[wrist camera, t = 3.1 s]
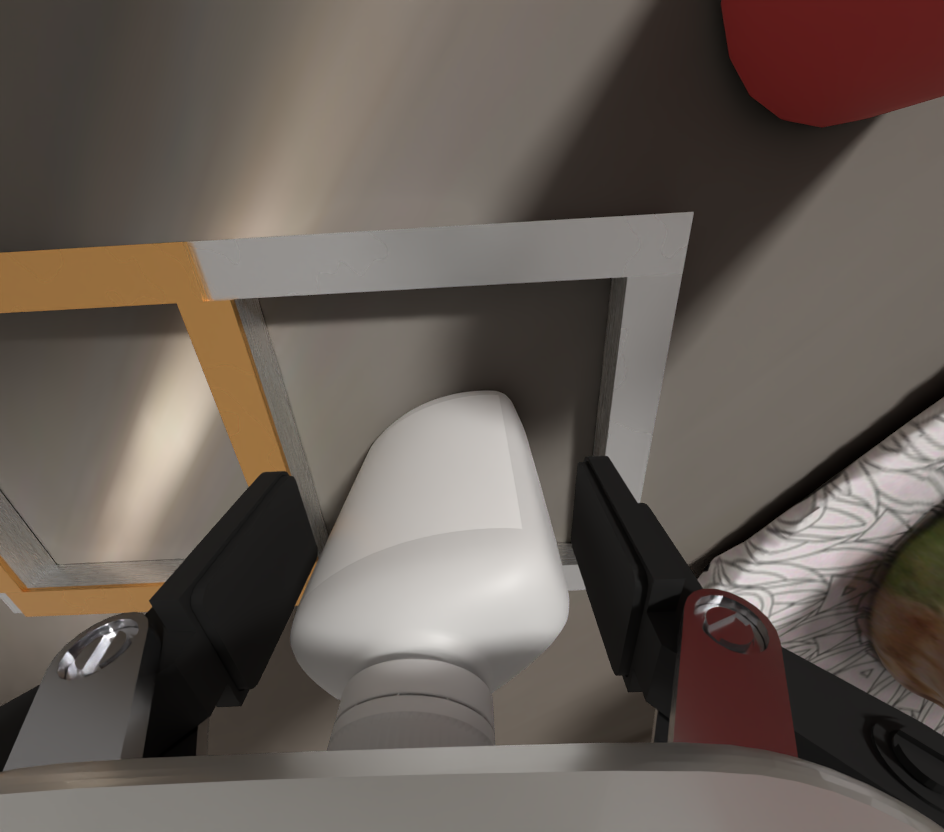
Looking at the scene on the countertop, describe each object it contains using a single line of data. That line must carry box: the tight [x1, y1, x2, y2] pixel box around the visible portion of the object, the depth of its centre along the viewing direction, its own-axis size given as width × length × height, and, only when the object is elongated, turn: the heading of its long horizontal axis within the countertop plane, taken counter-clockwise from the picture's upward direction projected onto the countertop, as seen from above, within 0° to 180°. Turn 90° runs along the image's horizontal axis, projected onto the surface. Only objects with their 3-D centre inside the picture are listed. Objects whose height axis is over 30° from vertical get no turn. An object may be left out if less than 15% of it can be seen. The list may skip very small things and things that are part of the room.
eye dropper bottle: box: [290, 390, 569, 751], centre depth 8 cm, size 4×6×12 cm
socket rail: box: [0, 212, 694, 617], centre depth 13 cm, size 14×26×1 cm, turn 93°
